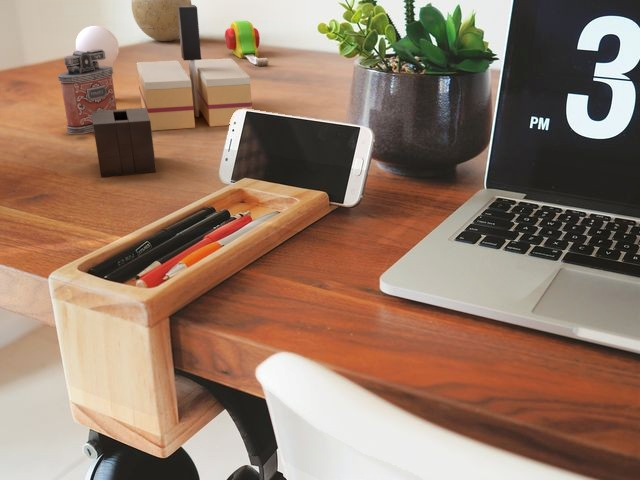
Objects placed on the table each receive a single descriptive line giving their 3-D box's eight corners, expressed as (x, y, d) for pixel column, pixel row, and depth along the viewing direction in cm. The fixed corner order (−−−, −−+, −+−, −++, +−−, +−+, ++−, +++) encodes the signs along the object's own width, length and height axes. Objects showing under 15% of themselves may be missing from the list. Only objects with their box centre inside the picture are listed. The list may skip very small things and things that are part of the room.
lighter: (79, 135, 94) (66, 57, 90) (61, 131, 96) (48, 54, 91) (125, 122, 101) (115, 48, 96) (108, 118, 102) (97, 45, 98)
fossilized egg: (123, 42, 157) (114, -33, 151) (160, 34, 168) (153, -36, 161) (171, 47, 153) (163, -29, 146) (206, 39, 163) (200, -33, 157)
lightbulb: (77, 98, 112) (65, 24, 107) (115, 93, 116) (105, 21, 111) (93, 106, 108) (82, 30, 103) (132, 101, 112) (123, 26, 107)
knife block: (101, 177, 81) (93, 124, 78) (99, 161, 86) (91, 110, 83) (156, 172, 83) (150, 120, 80) (151, 156, 88) (145, 107, 85)
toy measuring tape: (250, 48, 154) (248, 16, 151) (278, 65, 139) (277, 30, 136) (220, 50, 152) (218, 17, 149) (246, 67, 136) (244, 31, 133)
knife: (189, 117, 104) (179, 7, 97) (186, 112, 106) (176, 4, 99) (206, 116, 104) (197, 7, 98) (203, 111, 107) (194, 4, 100)
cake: (149, 131, 97) (144, 82, 94) (141, 106, 109) (136, 62, 106) (253, 123, 102) (250, 77, 99) (234, 100, 113) (231, 58, 110)
